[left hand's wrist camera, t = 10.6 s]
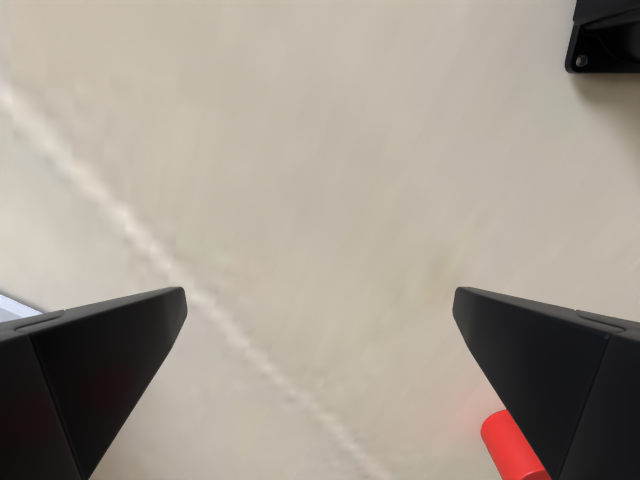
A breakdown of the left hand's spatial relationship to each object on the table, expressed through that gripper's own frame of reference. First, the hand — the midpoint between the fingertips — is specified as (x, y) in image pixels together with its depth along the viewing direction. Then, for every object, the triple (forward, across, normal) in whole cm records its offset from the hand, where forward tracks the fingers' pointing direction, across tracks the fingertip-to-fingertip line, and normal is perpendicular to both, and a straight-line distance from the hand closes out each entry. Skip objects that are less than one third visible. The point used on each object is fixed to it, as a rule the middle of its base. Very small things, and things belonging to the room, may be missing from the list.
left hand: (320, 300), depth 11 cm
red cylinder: (+8, +14, -16) cm, 22 cm away
